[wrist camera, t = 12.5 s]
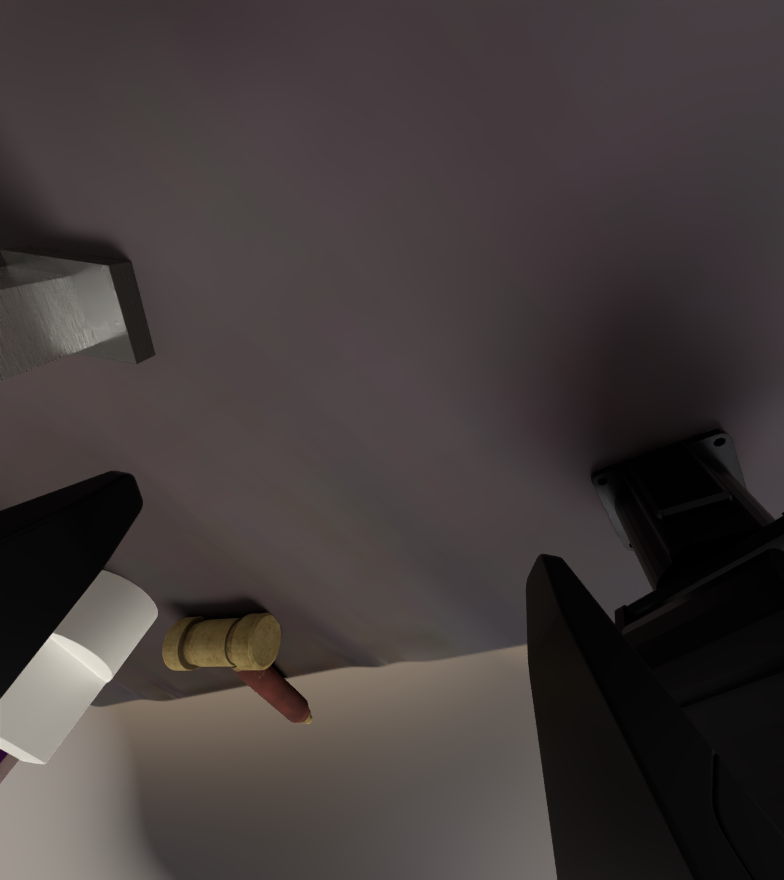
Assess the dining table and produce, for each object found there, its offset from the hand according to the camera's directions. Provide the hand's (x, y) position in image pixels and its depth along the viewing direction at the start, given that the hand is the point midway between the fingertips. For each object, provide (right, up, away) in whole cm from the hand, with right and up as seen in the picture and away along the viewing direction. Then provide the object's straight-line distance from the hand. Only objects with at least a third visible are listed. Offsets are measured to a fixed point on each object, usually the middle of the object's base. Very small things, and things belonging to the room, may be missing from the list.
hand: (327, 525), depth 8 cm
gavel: (-12, -23, +33) cm, 42 cm away
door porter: (-15, +9, +13) cm, 22 cm away
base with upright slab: (-27, -14, +30) cm, 43 cm away
